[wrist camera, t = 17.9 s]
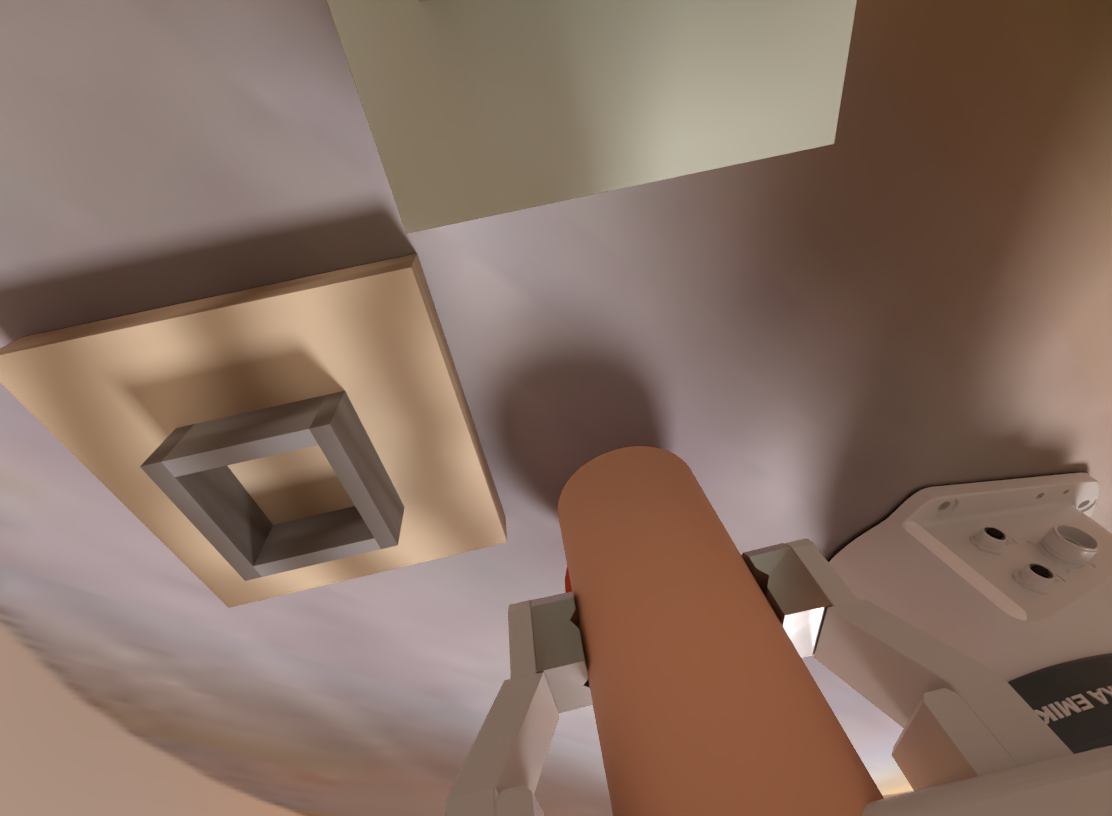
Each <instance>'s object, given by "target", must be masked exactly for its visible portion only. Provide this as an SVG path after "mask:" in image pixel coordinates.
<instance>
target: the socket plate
mask: <svg viewBox="0 0 1112 816" xmlns="http://www.w3.org/2000/svg"><path fill="white" fill-rule="evenodd" d="M0 382H1V383H2V384H3V385H4V386H5V387H6V388H7V389H8V390H9V391H10V392H11V393H12V394H13V395H14V396H15V397H16V398H17V399H18V400H19V401H20V402H21V403H22V404H23V405H24V406H25V407H26V408H27V409H28V410H29V411H30V412H31V413H32V414H33V415H34V416H35V417H36V418H37V419H38V420H39V421H40V422H41V423H42V424H43V425H44V426H45V427H46V428H47V429H48V430H49V431H50V432H51V433H52V434H53V435H54V436H55V437H56V438H57V439H58V440H59V441H60V442H61V443H62V444H63V445H64V446H65V447H66V448H68V449H69V450H70V451H71V452H72V453H73V454H74V455H75V456H76V457H77V458H78V459H79V460H80V461H81V462H82V463H83V464H84V465H85V466H86V467H87V468H88V469H89V470H90V471H91V472H92V473H93V474H94V475H95V476H96V477H97V478H98V479H99V480H100V481H101V482H102V483H103V484H104V485H105V486H106V487H107V488H108V489H109V490H110V491H111V492H112V493H113V494H114V495H115V496H116V497H117V498H118V499H119V500H120V501H121V502H122V503H123V504H124V505H125V506H126V507H127V508H128V509H129V510H130V511H131V512H132V513H133V514H134V515H135V516H136V517H137V518H138V519H139V520H140V521H141V522H142V523H143V524H144V525H145V526H146V527H147V528H148V529H149V530H150V531H152V532H153V533H154V534H155V535H156V536H157V537H158V538H159V539H160V540H161V541H162V542H163V543H164V544H165V545H166V546H167V547H168V548H169V549H170V550H171V551H172V552H173V553H174V554H175V555H176V556H177V557H178V558H179V559H180V560H181V561H182V562H183V563H184V564H185V565H186V566H187V567H188V568H189V569H190V570H191V571H192V572H193V573H194V574H195V575H196V576H197V577H198V578H199V579H200V580H201V581H202V582H203V583H204V584H205V585H206V586H207V587H208V588H209V589H210V590H211V591H212V592H213V593H214V594H215V595H216V596H217V597H218V598H219V599H220V600H221V601H222V602H223V603H224V604H225V605H226V606H227V607H228V608H230V607H234V606H238V605H243V604H247V603H251V602H255V601H260V600H264V599H268V598H272V597H277V596H281V595H285V594H289V593H294V592H298V591H302V590H306V589H311V588H315V587H319V586H323V585H328V584H332V583H336V582H340V581H345V580H349V579H353V578H357V577H362V576H366V575H370V574H374V573H379V572H383V571H387V570H391V569H396V568H400V567H404V566H409V565H413V564H417V563H421V562H426V561H430V560H434V559H438V558H443V557H447V556H451V555H455V554H460V553H464V552H468V551H472V550H477V549H481V548H485V547H489V546H494V545H498V544H502V543H506V542H507V532H506V519H505V514H504V511H503V508H502V505H501V502H500V499H499V496H498V493H497V490H496V487H495V484H494V481H493V478H492V475H491V472H490V469H489V467H488V464H487V461H486V458H485V455H484V452H483V449H482V446H481V443H480V440H479V437H478V434H477V431H476V428H475V425H474V422H473V419H472V416H471V413H470V410H469V407H468V404H467V401H466V398H465V395H464V392H463V389H462V386H461V383H460V380H459V377H458V374H457V371H456V368H455V365H454V362H453V359H452V356H451V353H450V350H449V347H448V345H447V342H446V339H445V336H444V333H443V330H442V327H441V324H440V321H439V318H438V315H437V312H436V309H435V306H434V303H433V300H432V297H431V294H430V291H429V288H428V285H427V282H426V279H425V276H424V273H423V270H422V267H421V264H420V261H419V258H418V255H417V254H412V255H407V256H402V257H398V258H393V259H388V260H384V261H379V262H374V263H370V264H365V265H360V266H355V267H351V268H346V269H341V270H337V271H332V272H327V273H322V274H318V275H313V276H308V277H304V278H299V279H294V280H289V281H285V282H280V283H275V284H271V285H266V286H261V287H257V288H252V289H247V290H242V291H238V292H233V293H228V294H224V295H219V296H214V297H209V298H205V299H200V300H195V301H191V302H186V303H181V304H176V305H172V306H167V307H162V308H158V309H153V310H148V311H143V312H139V313H134V314H129V315H125V316H120V317H115V318H111V319H106V320H101V321H96V322H92V323H87V324H82V325H78V326H73V327H68V328H63V329H59V330H54V331H49V332H45V333H40V334H35V335H30V336H26V337H22V338H20V339H18V340H16V341H14V342H12V343H10V344H8V345H6V346H4V347H2V348H0Z"/></svg>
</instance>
